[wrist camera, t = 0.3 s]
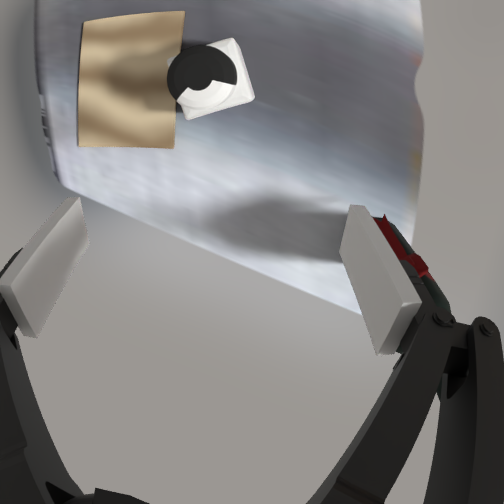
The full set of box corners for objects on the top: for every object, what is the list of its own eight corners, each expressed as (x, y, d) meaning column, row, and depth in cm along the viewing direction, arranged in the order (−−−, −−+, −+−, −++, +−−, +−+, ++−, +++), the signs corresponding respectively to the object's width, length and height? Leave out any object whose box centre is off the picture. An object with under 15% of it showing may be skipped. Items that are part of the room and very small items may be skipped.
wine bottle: (395, 196, 40) (526, 358, 14) (400, 259, 45) (490, 429, 19) (341, 209, 42) (428, 400, 16) (351, 271, 46) (412, 459, 20)
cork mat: (86, 22, 30) (84, 22, 29) (185, 12, 30) (183, 10, 30) (81, 146, 39) (78, 147, 38) (174, 147, 39) (172, 148, 38)
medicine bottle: (182, 63, 33) (148, 55, 23) (239, 45, 32) (227, 27, 22) (199, 115, 37) (172, 127, 26) (255, 98, 36) (250, 103, 25)
